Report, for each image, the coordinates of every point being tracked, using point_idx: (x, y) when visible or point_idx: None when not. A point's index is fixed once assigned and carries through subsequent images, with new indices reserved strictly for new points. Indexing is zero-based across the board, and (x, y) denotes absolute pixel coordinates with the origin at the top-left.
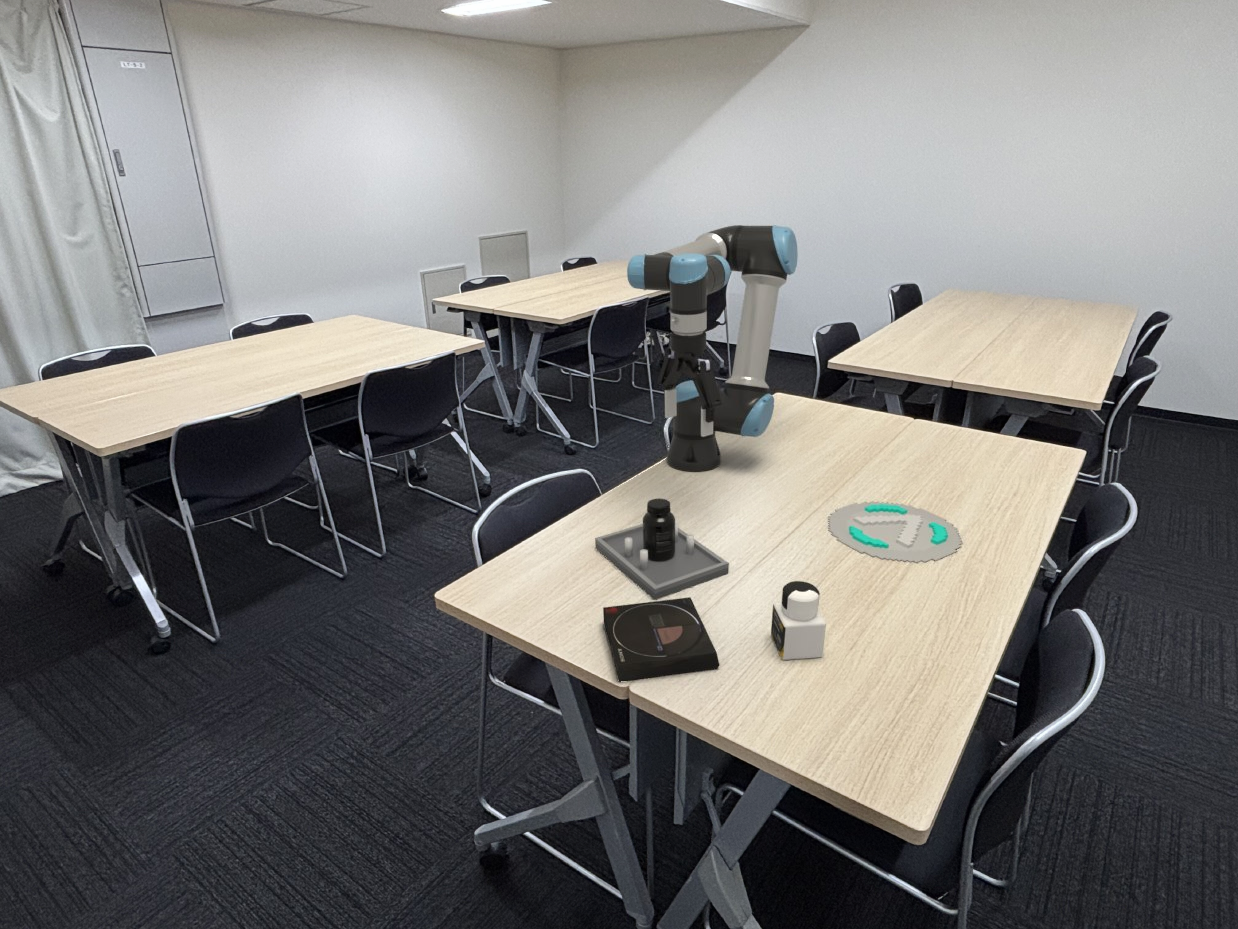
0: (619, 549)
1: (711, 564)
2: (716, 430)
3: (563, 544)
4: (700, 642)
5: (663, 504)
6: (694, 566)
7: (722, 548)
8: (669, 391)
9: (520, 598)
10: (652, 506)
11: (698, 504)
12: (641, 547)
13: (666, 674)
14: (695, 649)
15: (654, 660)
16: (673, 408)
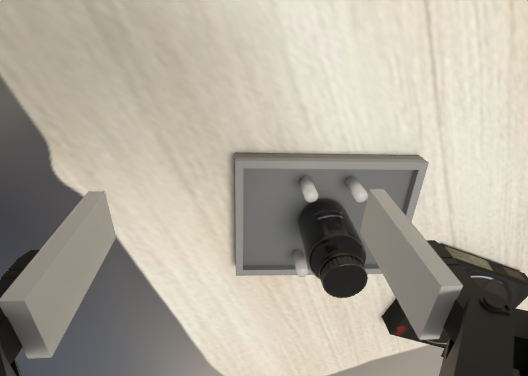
0: (275, 255)
1: (399, 175)
2: None
3: (202, 289)
4: (512, 292)
5: (356, 278)
6: None
7: (359, 112)
8: (47, 335)
9: (287, 355)
10: (348, 295)
11: (185, 28)
12: (289, 229)
13: None
14: (514, 300)
15: None
16: (92, 231)
